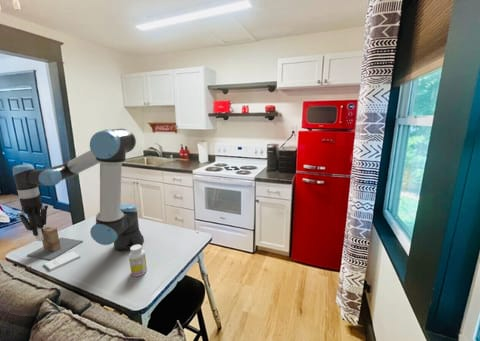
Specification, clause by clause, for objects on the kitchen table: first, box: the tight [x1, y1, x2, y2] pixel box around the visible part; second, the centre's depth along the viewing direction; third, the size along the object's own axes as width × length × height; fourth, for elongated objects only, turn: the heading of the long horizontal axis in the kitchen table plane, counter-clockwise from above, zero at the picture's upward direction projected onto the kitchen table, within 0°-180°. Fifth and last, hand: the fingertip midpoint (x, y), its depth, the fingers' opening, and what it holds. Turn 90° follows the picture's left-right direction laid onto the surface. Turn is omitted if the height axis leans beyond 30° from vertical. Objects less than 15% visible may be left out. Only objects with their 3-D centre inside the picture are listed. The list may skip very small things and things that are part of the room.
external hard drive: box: [43, 250, 81, 272], centre depth 115 cm, size 2×8×12 cm
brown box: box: [41, 226, 61, 252], centre depth 122 cm, size 7×4×12 cm, turn 76°
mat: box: [26, 237, 84, 261], centre depth 126 cm, size 16×18×1 cm
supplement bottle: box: [128, 244, 148, 277], centre depth 105 cm, size 7×7×13 cm
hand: (40, 240), depth 117 cm, fingers closed
